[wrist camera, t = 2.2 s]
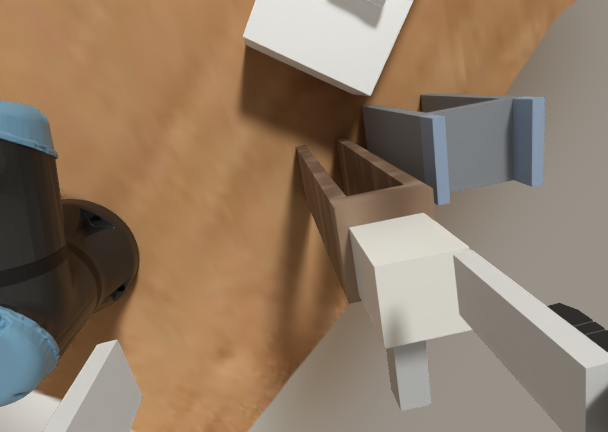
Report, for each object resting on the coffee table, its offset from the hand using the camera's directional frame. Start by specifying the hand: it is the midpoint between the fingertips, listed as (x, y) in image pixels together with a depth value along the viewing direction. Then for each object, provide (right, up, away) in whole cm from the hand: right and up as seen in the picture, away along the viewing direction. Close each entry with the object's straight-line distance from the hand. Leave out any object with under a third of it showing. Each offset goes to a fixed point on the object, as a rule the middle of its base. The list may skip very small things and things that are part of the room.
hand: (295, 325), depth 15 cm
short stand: (+13, +16, +37) cm, 42 cm away
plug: (+7, -2, +13) cm, 15 cm away
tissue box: (+5, +33, +31) cm, 46 cm away
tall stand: (+3, +11, +38) cm, 39 cm away
